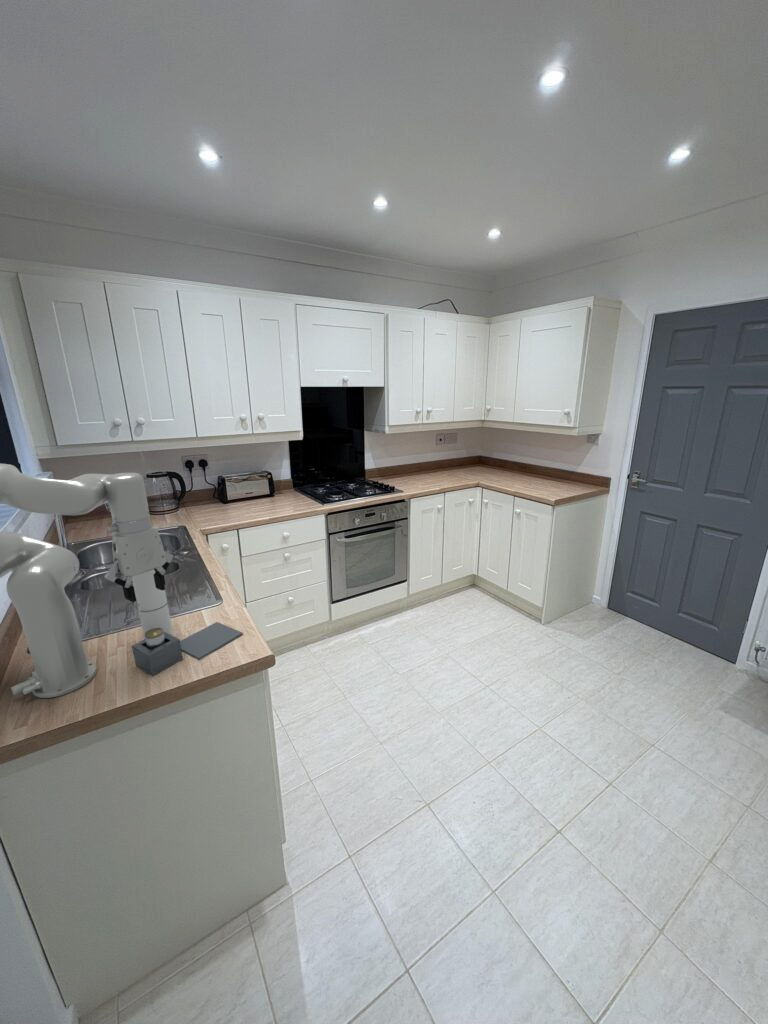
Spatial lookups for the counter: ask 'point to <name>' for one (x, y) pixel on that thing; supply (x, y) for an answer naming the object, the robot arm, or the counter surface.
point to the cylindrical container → (151, 603)
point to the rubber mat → (208, 640)
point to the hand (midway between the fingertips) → (146, 594)
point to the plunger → (154, 638)
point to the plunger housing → (157, 655)
